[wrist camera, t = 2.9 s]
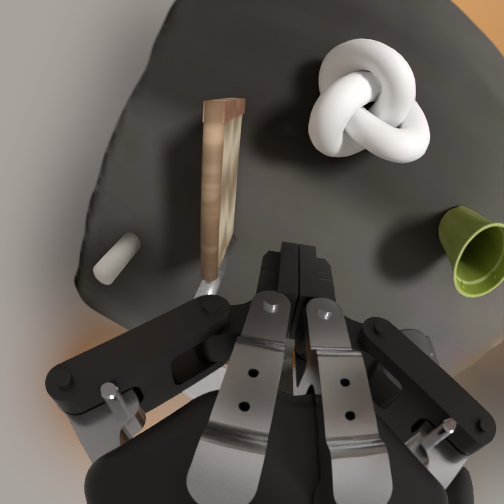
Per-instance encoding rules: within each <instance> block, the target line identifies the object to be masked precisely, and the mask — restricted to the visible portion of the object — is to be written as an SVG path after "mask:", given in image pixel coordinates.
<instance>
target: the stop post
mask: <svg viewBox="0 0 504 504" xmlns="http://www.w3.org/2000/svg"><path fill="white" fill-rule="evenodd" d="M140 247H141V242H140V239H139V238H138V237H137V236H136V235H135V234H133V233H126V234H124V235H123V236H122V237H121V238H120V239H119V241H118V242H117V243H116V244H115V245H114V246H113V247H112V248H111V249H110V250H109V251H108V252H107V253H106V254H105V255H104V256H103V257H102V259H101V260H100V261H99V262H98V263H97V264H96V265H95V266H94V268H93V272H94V275H95V277H96V278H97V279H98V280H99V281H100V282H101V283H103V284H106V285H109V284H111V283H112V282H113V281H114V280H115V278H116V277H117V276H118V275H119V273H120V272H121V271H122V270H123V268H124V267H125V266H126V265H127V263H128V262H129V261H130V260H131V258H132V257H133V256H134V255H135V254H136V252H137V251H138V250H139V249H140Z"/></svg>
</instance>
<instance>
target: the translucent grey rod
mask: <svg viewBox="0 0 504 504" xmlns="http://www.w3.org/2000/svg"><path fill="white" fill-rule="evenodd" d="M235 242H236V237H235V235H234V234H233V235H232V237H231V240H230V242H229V245H228V247H227V250H226V252H225V255H224V257H223V260H222V262H221V265H220V267H219V270H218V278H217V279H216V280H214V281H205V280H203V279H202V282H201V284H200V286H199V288H198V291H197V293H196V295H195V297H194V299H195V298H197V297H199V296H202V295H207V294H212V295H216V294H217V291H218V289H219V286H220V283H221V280H222V278H223V275H224V272H225V269H226V267H227V264H228V261H229V258H230V256H231V253H232V250H233V247H234V245H235Z"/></svg>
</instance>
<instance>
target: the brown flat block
mask: <svg viewBox="0 0 504 504" xmlns="http://www.w3.org/2000/svg"><path fill="white" fill-rule="evenodd" d="M244 110H245V99H242V98H223V99H215V100H208V101H204V106H203V122H204V125H203V146H202V174H201V278H202V279H203V280H205V281H214V280H216V279H217V278H218V270H219V267H220V265H221V262H222V260H223V257H224V255H225V252H226V250H227V247H228V245H229V242H230V240H231V237H232V235H233V227H234V212H235V198H236V184H237V171H238V158H239V145H240V133H241V121H242V114H244Z"/></svg>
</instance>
